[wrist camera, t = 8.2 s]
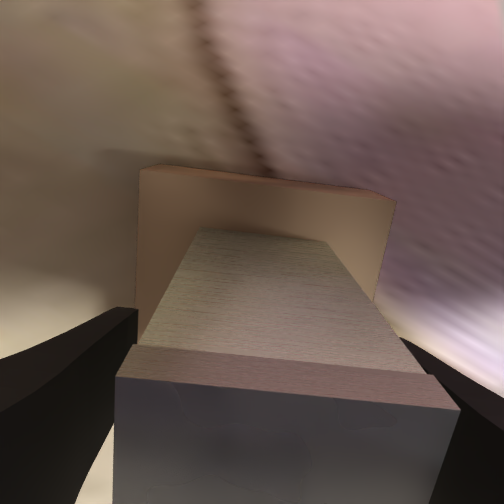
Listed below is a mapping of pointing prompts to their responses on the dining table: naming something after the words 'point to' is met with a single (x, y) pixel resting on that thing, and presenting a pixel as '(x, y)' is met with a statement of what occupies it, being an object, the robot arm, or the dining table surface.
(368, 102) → the dining table surface
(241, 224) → the tan flat square block
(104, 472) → the dining table surface
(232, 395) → the tea tin
